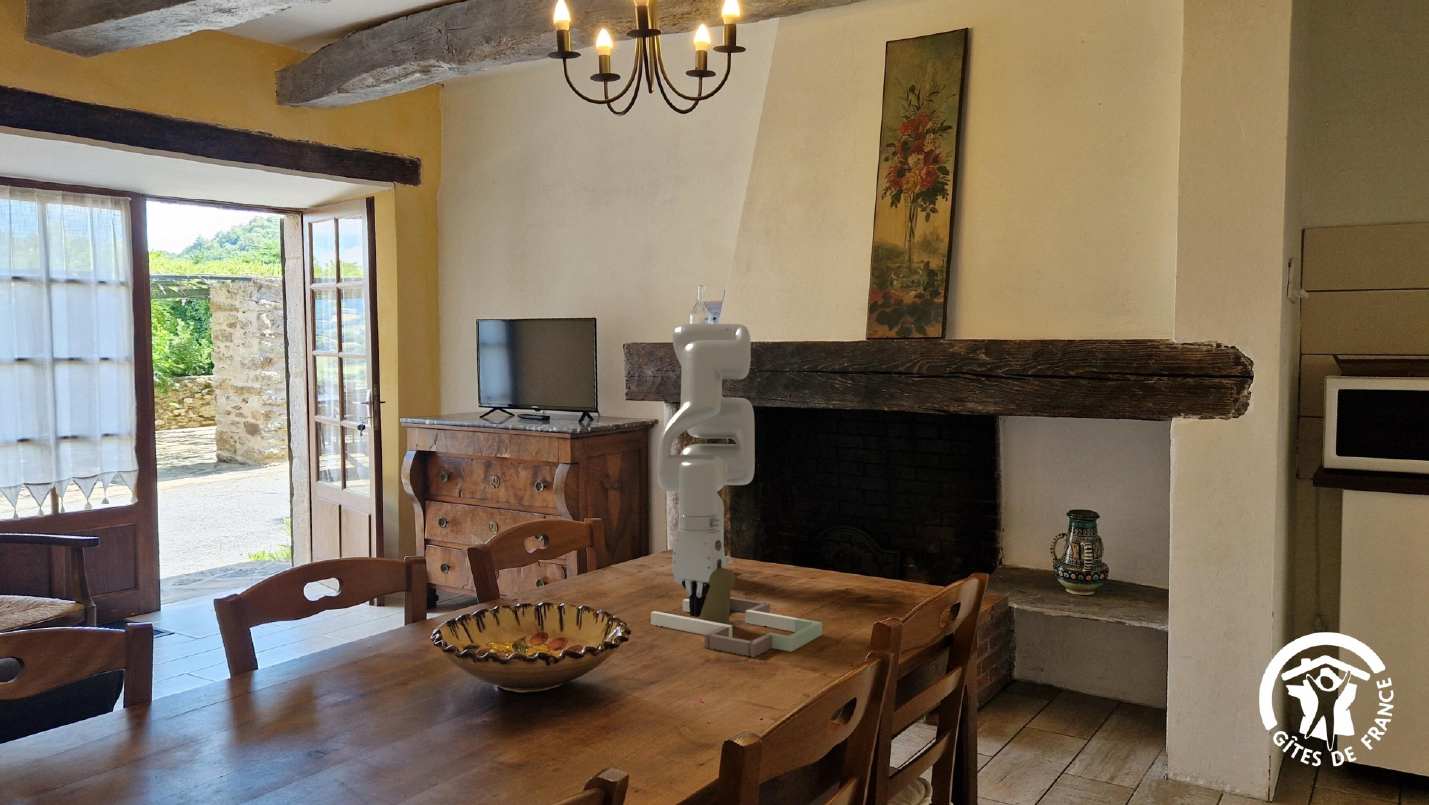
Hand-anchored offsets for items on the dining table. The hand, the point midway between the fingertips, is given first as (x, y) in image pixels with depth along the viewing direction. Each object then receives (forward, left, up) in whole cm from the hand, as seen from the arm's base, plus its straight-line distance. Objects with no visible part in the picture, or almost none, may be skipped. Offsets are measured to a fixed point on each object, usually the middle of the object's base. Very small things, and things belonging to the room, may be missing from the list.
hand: (697, 615), depth 195 cm
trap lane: (0, +8, -2) cm, 8 cm away
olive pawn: (0, +4, -1) cm, 4 cm away
